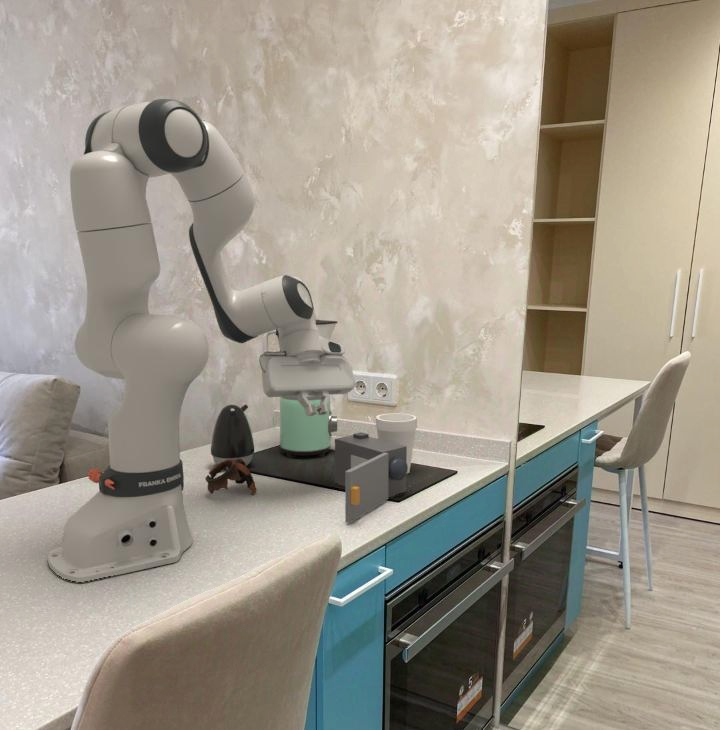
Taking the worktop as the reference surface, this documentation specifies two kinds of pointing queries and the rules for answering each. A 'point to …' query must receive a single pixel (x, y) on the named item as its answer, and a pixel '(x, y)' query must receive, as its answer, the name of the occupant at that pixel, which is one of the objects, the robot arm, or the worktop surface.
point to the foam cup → (398, 431)
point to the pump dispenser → (232, 436)
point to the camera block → (365, 448)
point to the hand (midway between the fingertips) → (317, 414)
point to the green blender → (295, 425)
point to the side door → (366, 486)
